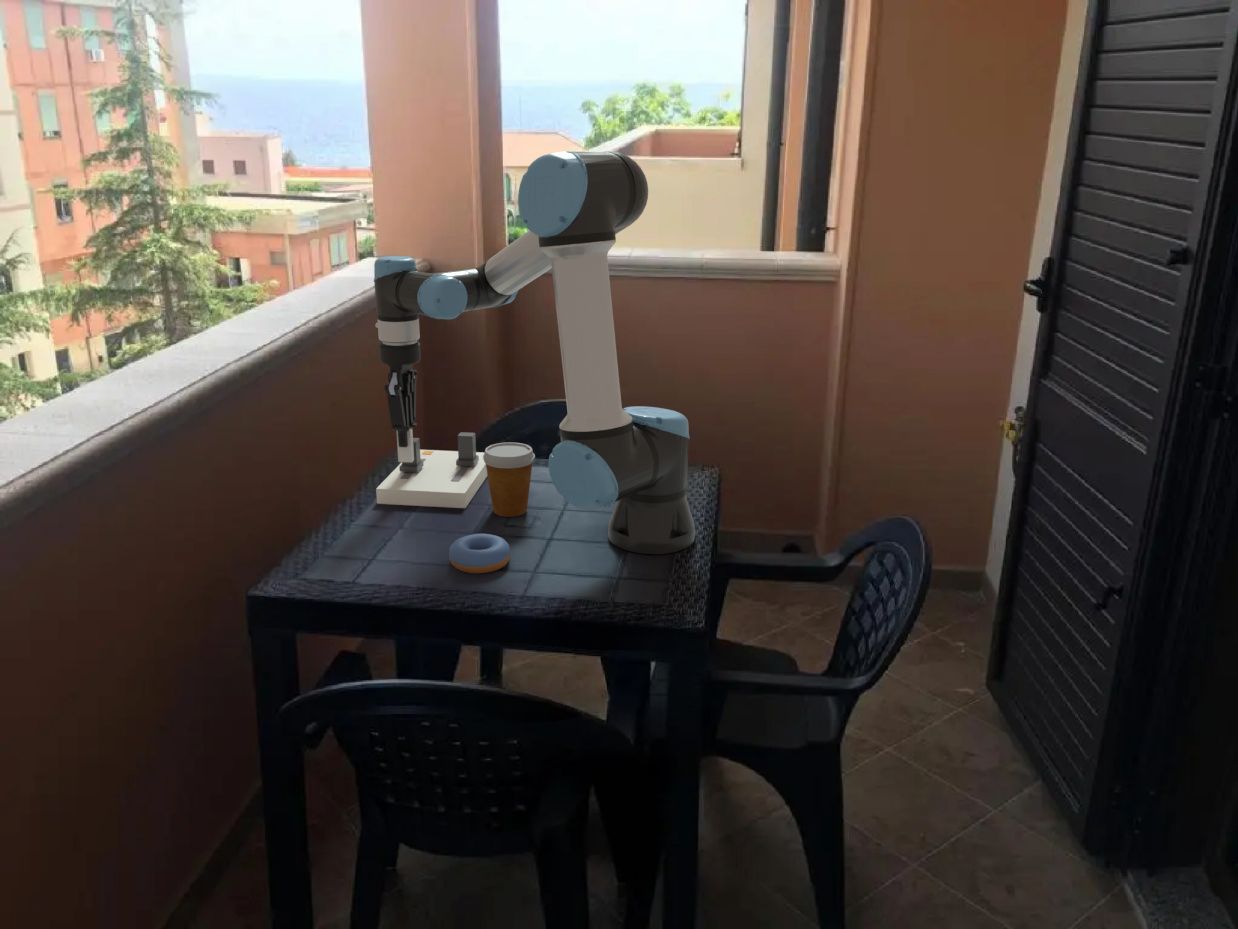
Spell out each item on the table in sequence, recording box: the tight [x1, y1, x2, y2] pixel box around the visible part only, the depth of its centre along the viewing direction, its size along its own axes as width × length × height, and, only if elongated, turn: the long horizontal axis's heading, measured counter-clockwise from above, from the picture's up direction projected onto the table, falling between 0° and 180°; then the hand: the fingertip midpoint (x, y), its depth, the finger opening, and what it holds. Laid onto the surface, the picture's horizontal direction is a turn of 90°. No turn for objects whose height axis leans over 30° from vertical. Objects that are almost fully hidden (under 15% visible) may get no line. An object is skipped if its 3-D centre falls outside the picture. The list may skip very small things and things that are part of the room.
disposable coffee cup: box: [483, 441, 536, 518], centre depth 180 cm, size 10×10×12 cm
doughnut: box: [448, 533, 511, 574], centre depth 160 cm, size 10×10×5 cm
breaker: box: [456, 431, 479, 466], centre depth 196 cm, size 4×4×6 cm
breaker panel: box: [375, 449, 488, 509], centre depth 194 cm, size 24×17×3 cm
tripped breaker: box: [399, 437, 424, 472], centre depth 192 cm, size 4×4×6 cm
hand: (406, 460), depth 190 cm, fingers closed
